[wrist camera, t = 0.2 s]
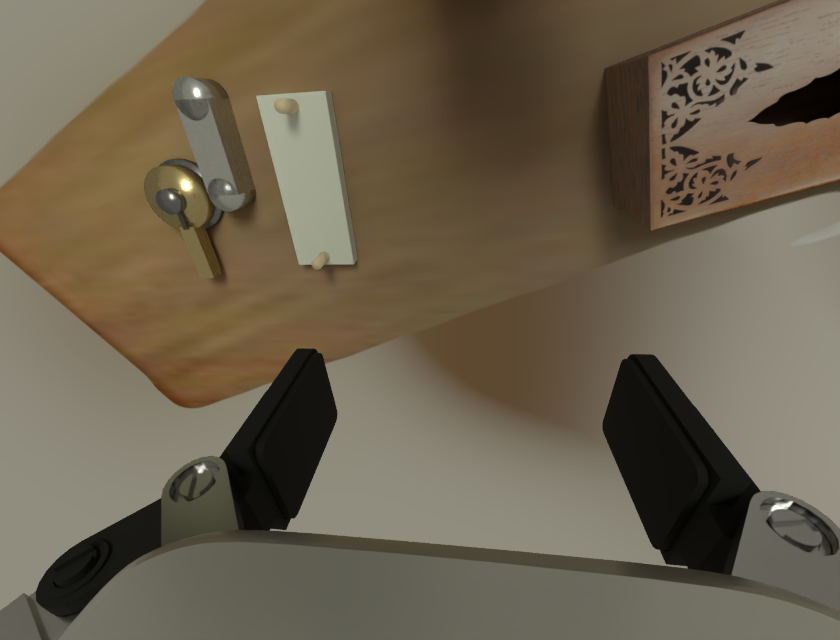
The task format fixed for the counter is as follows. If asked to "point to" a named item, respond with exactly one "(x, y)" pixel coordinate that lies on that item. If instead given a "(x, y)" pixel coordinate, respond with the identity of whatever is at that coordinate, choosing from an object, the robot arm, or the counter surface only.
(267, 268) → the counter surface
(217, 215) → the round gray base
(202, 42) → the counter surface
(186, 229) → the gold handled disc
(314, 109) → the peg rest
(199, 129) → the steel bar
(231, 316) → the counter surface
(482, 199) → the counter surface
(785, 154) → the tissue box cover
